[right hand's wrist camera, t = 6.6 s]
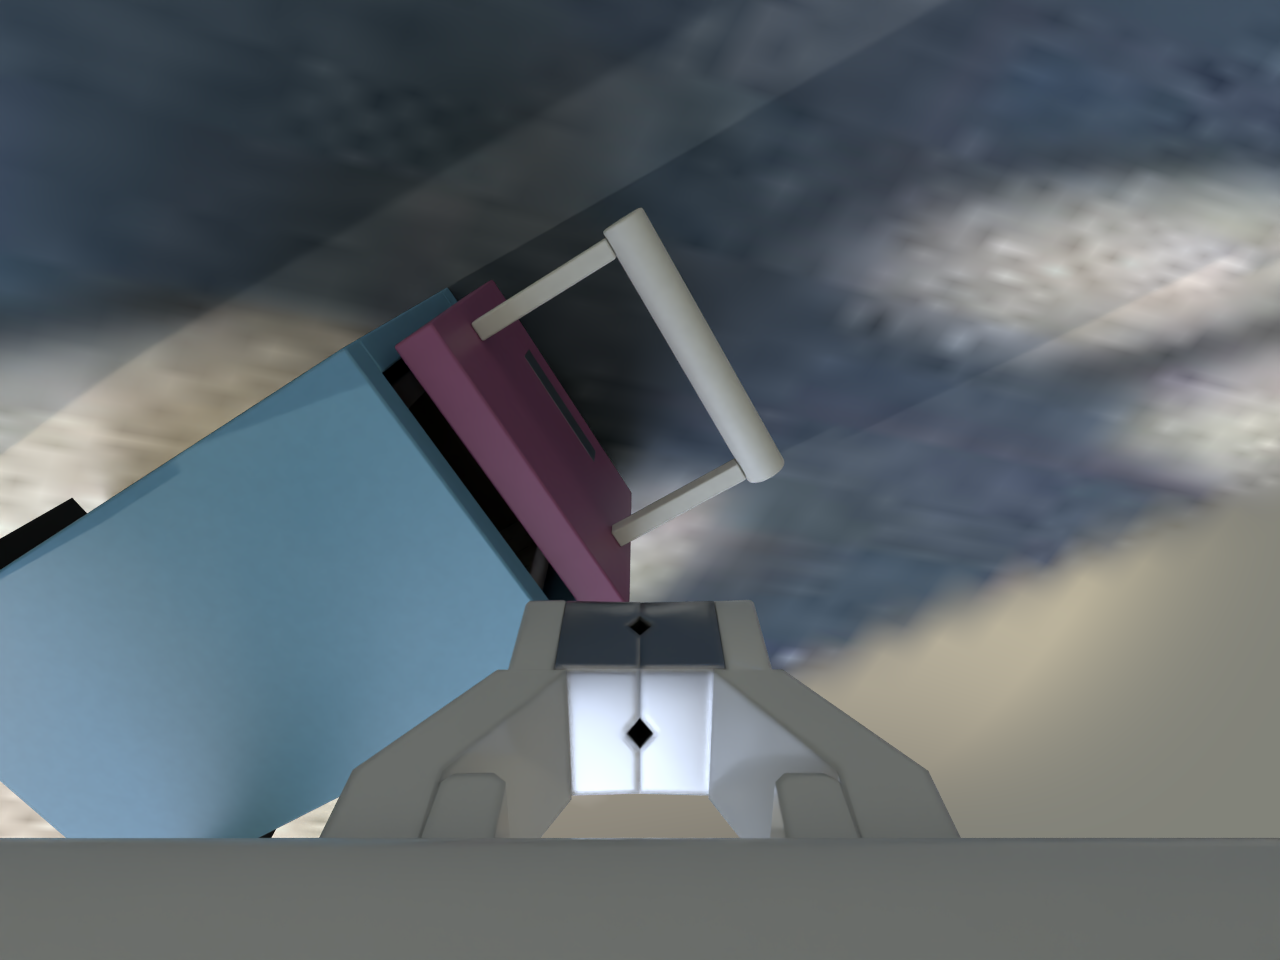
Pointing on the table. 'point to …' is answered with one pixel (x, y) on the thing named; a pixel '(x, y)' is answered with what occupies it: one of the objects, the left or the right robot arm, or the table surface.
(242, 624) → the cabinet
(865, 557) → the table surface
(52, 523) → the left robot arm
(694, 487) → the drawer
